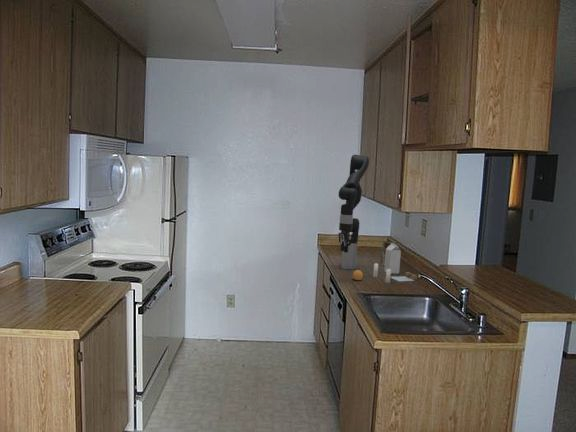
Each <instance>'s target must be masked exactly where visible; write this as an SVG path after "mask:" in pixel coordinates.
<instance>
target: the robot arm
mask: <svg viewBox="0 0 576 432" xmlns="http://www.w3.org/2000/svg"><path fill="white" fill-rule="evenodd" d="M369 164H370V158H369V157H368V156H365V155H360V154H352V155H351V157H350V163H349V175H348V177H347V180H346V181H345V183H344V184H343V185H342V186H341V187H340V189H339V190H338V198H339V199H340V200H343V201H345V203H343V204H341V206H340V216H339V222H338V223H339V225H338V230H339V231H340V232H338V243H339V245H340V248H339V249H340V251H341V252H342V256H341V269H342V270H347V271H348V270H349V271H351V270H353V271H355V270H357V269H356V266H357V255H358V252H357V250H358V242H359V241H358V240H359V232H360V220H359V218H356V217H355V218H353V217H354V215H353V213H354V209H355V208H356V207H358V205H359V203H360V202H361V199H362V191H363V190H362V187H361V184H360V181H361V179H362V178H363V176H364V175H365V173H366V172H367V170H368V168H369Z"/></svg>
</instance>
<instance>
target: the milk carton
mask: <svg viewBox="0 0 576 432" xmlns="http://www.w3.org/2000/svg"><path fill="white" fill-rule="evenodd" d="M394 243H395V242H392V243H391V245H390V246H388V247H387V248H386V254H385V266H384V269H383V271H384V272H385V273H386V270H387V269H391V275H392V274H393V275H394V274H400V268H401V254H402V253H401V252H402V250H401V249H400V248H399V246H398V244H397V243H395V244H394ZM396 244H397V245H396Z"/></svg>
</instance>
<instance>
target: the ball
mask: <svg viewBox="0 0 576 432" xmlns="http://www.w3.org/2000/svg"><path fill="white" fill-rule="evenodd" d="M363 277H364V274H363V272H362V271H361V270H359V269H355V270H353V272H352V278H353V279H354V280H355V281H361V280H362V279H363Z"/></svg>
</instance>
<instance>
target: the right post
mask: <svg viewBox="0 0 576 432" xmlns="http://www.w3.org/2000/svg"><path fill="white" fill-rule="evenodd" d="M391 275H392V274H391V269H387V270H386V272H385V283H386V284H390V283H391V278H390V277H392V276H391Z"/></svg>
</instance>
